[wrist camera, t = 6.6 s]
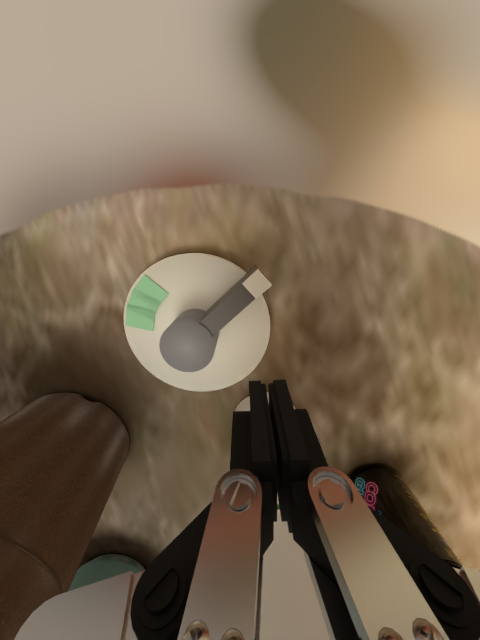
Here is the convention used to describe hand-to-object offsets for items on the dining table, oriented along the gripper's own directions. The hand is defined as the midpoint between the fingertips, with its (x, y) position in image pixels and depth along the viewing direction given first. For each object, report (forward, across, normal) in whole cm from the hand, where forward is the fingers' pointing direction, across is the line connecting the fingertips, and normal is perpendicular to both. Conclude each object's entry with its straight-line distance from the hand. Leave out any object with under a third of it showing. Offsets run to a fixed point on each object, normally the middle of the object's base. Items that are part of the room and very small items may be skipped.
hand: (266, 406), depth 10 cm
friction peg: (+10, +3, -2) cm, 10 cm away
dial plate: (+11, +5, 0) cm, 12 cm away
